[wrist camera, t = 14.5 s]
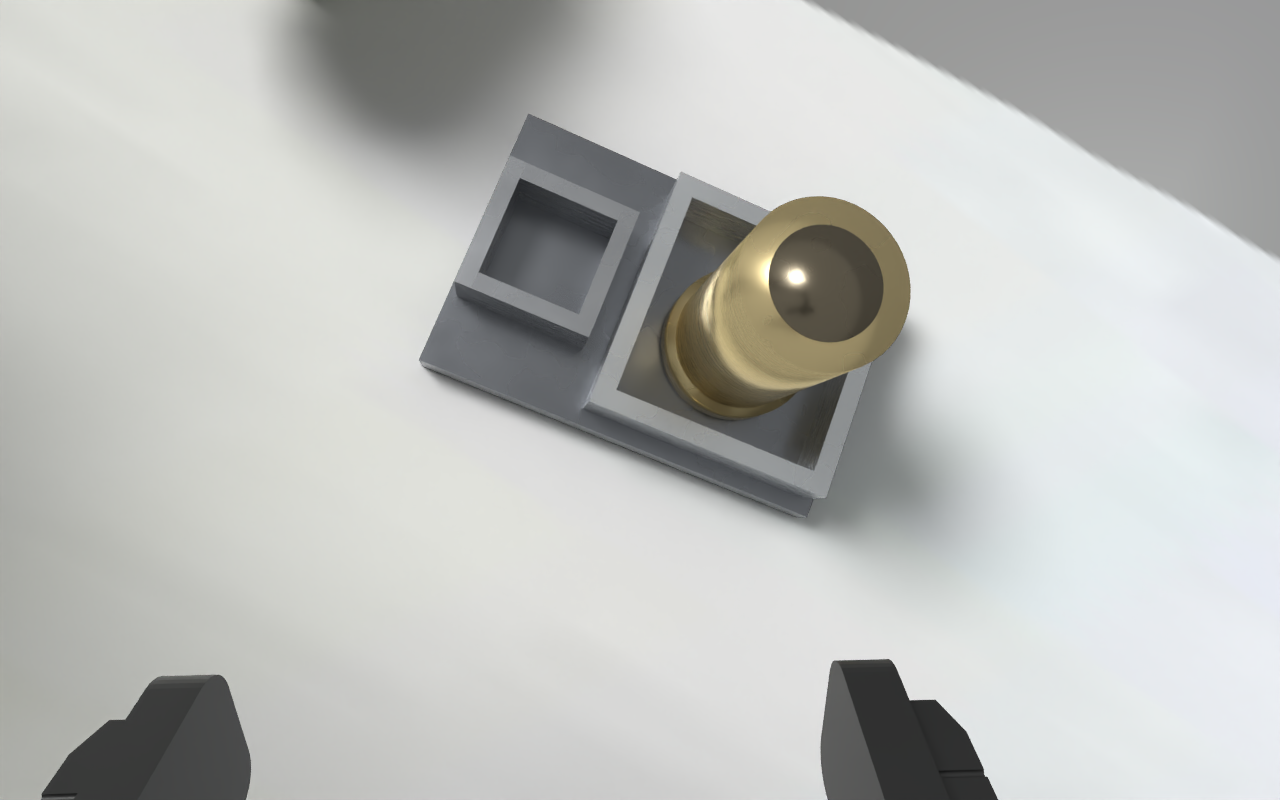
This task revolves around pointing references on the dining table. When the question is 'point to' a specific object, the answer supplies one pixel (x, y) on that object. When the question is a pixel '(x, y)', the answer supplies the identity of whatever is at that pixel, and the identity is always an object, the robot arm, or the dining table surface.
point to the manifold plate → (621, 317)
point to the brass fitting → (787, 309)
